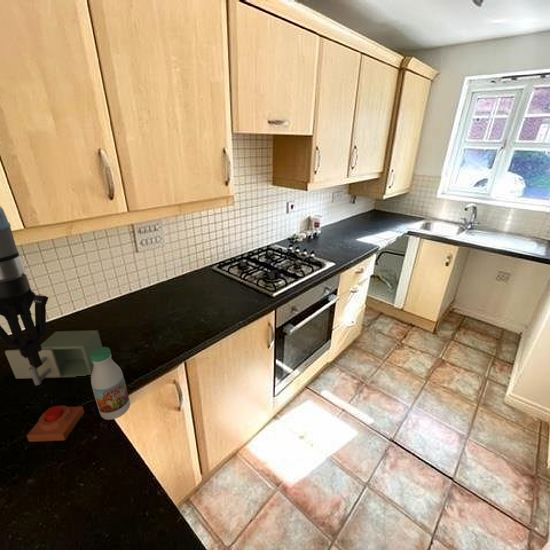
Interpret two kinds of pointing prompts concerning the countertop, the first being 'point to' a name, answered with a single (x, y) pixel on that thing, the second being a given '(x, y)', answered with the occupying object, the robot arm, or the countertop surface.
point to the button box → (56, 425)
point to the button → (53, 413)
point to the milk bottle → (108, 385)
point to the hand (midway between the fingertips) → (36, 364)
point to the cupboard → (73, 351)
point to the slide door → (25, 370)
